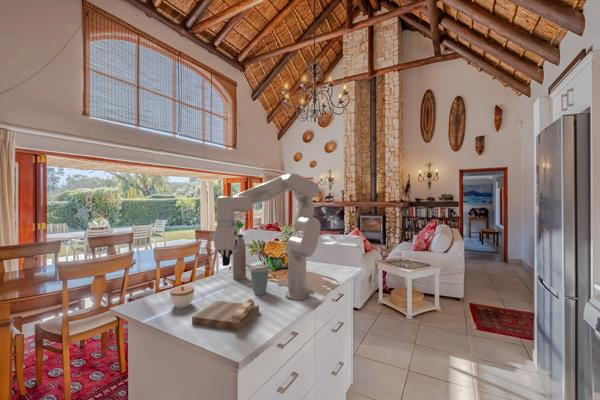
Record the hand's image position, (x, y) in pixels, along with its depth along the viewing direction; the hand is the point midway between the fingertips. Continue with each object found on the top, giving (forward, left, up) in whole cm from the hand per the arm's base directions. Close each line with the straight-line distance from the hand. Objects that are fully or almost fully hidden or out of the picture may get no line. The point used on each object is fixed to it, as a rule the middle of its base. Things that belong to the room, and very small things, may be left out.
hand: (226, 265), depth 122 cm
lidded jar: (+26, -3, -22) cm, 34 cm away
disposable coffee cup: (-3, -29, -22) cm, 37 cm away
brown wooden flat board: (-2, +3, -22) cm, 22 cm away
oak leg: (-11, +4, -19) cm, 22 cm away
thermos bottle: (+21, -50, -22) cm, 59 cm away
